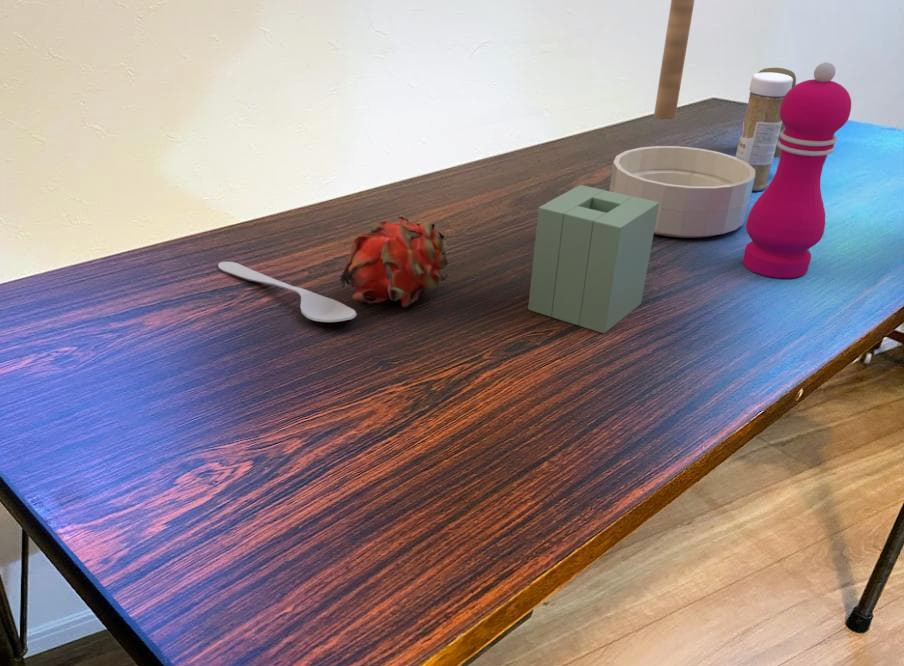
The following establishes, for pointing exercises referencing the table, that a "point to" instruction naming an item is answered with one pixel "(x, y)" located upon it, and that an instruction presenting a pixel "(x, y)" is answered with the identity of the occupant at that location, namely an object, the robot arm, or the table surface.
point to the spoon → (310, 302)
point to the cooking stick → (673, 58)
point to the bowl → (687, 188)
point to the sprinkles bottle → (762, 123)
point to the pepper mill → (797, 179)
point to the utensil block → (591, 256)
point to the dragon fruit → (396, 262)
